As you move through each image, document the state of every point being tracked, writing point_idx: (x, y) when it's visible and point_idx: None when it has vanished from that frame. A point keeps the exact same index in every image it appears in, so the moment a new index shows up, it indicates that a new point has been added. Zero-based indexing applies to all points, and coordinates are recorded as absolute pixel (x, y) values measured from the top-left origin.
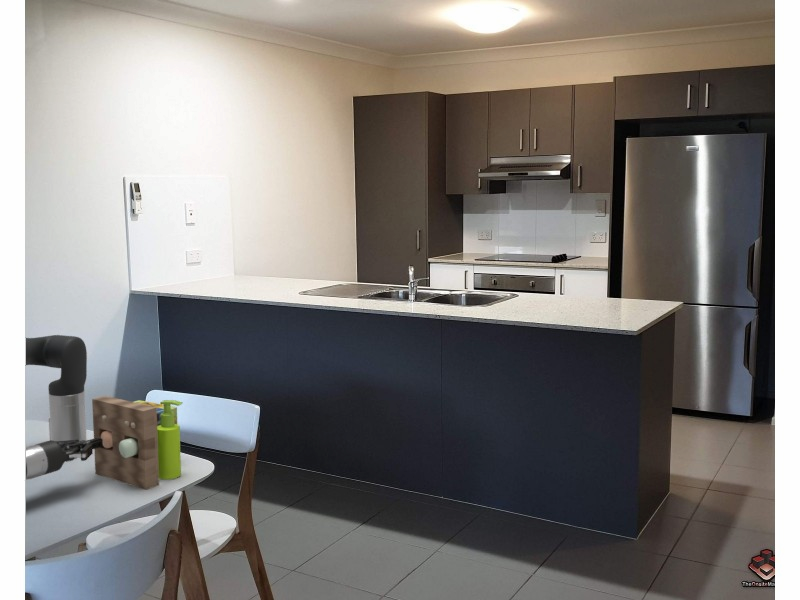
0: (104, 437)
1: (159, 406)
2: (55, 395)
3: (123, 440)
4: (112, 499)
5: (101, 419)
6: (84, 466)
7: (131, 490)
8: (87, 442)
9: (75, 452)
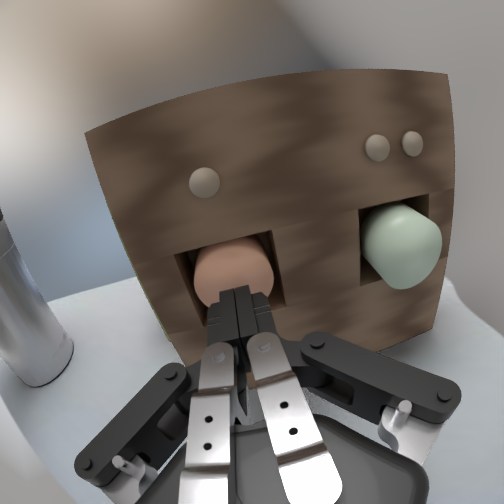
0: (220, 278)
1: None
2: None
3: (412, 222)
4: (467, 408)
5: (178, 203)
6: (131, 390)
7: (421, 357)
8: (270, 345)
9: (402, 454)
